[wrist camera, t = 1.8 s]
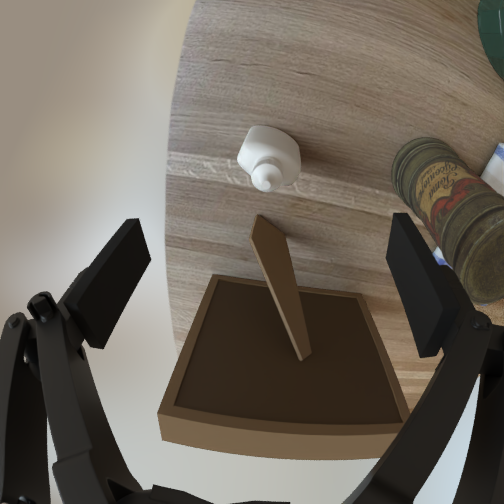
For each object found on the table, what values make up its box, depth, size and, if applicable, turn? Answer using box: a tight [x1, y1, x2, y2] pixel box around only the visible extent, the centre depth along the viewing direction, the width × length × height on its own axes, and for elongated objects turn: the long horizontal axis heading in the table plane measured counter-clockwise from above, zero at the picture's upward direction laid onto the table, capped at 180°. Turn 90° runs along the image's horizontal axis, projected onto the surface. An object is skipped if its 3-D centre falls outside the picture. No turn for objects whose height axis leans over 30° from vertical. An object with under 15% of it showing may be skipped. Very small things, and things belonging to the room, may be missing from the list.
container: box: [392, 138, 504, 305], centre depth 24 cm, size 9×9×18 cm
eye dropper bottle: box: [237, 125, 301, 192], centre depth 27 cm, size 4×6×12 cm
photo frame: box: [157, 214, 411, 460], centre depth 31 cm, size 15×22×25 cm
